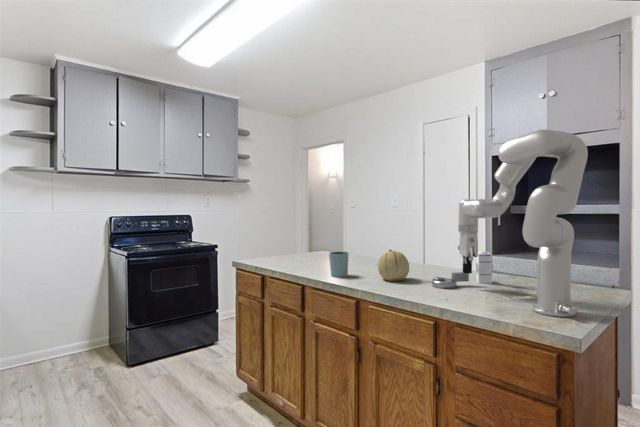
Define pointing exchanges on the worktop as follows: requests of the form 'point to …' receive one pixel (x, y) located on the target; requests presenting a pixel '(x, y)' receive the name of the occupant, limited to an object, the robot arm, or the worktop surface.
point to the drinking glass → (339, 264)
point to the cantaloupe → (393, 266)
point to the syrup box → (484, 268)
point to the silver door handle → (450, 280)
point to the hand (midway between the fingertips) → (467, 272)
